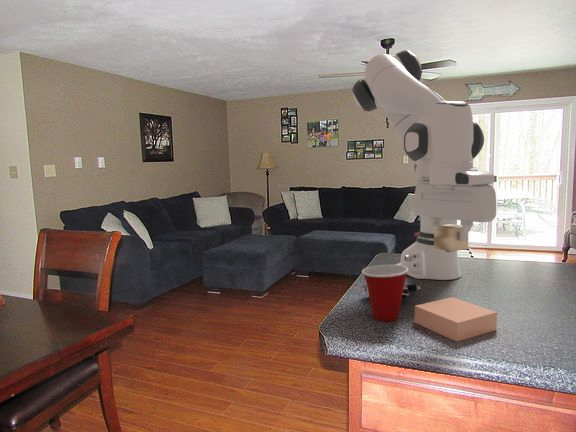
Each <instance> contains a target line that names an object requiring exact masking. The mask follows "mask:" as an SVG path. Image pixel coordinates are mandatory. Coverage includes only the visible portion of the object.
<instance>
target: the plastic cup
mask: <svg viewBox="0 0 576 432" xmlns="http://www.w3.org/2000/svg"><path fill="white" fill-rule="evenodd" d="M407 272H408V268H407V267H405V266H401V265H396V264H378V265H371V266H367V267H364V268H363V269H361V274H362V275H363V277H364V280H365V283H366V285H367V287H368V292H369V295H368V297H369V303H370V305H371V311H372V312H371V313H372V316H373V318H374V319H375V320H377V321H381V322H394V321H397V319H399V316H400V309H401V305H402V302H403V299H402V295H403V289H404V283H405V282H406V279H407V276H408V275H407Z"/></svg>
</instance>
